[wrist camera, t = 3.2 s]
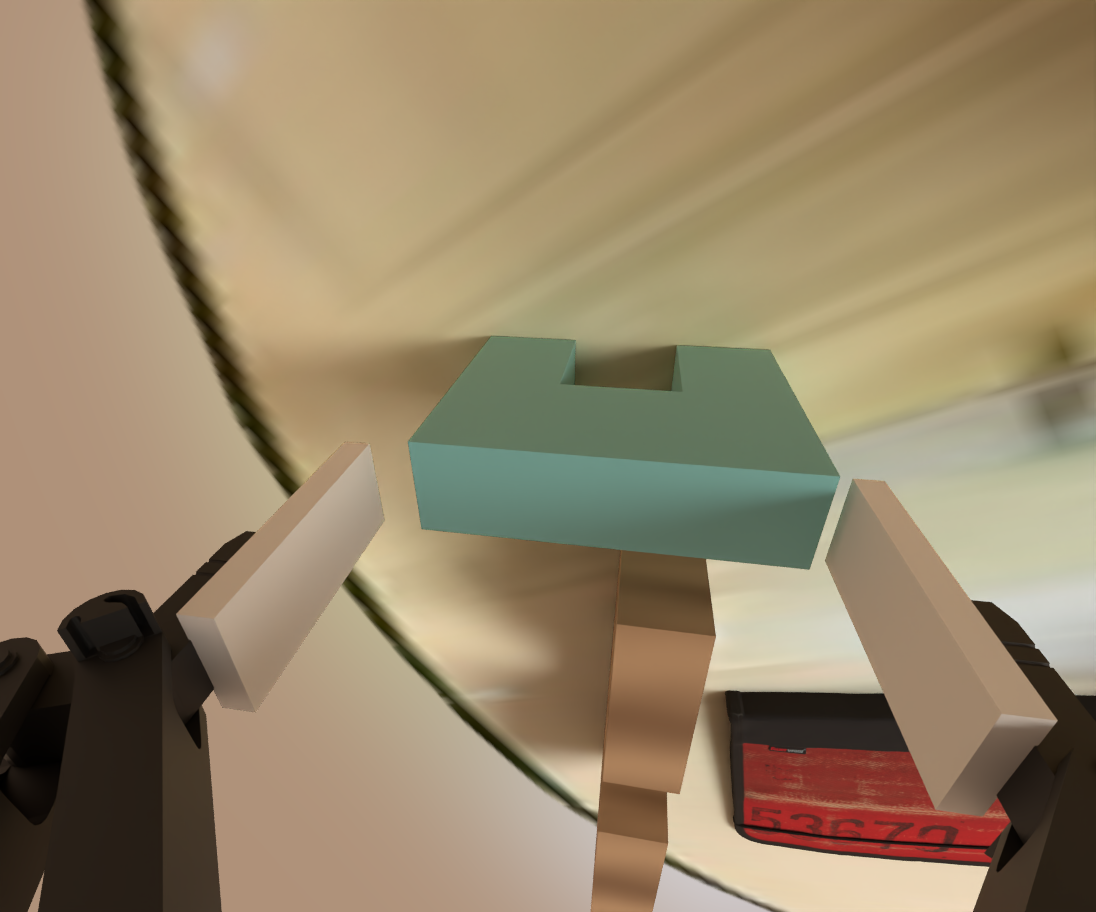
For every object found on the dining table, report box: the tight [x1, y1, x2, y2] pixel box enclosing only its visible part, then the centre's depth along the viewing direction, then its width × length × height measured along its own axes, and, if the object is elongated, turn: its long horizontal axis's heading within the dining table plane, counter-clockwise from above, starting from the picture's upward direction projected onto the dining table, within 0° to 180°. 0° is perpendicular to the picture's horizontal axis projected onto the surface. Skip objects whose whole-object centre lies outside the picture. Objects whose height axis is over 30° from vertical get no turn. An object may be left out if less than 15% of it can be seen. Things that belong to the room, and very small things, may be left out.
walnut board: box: [591, 550, 716, 912], centre depth 26 cm, size 22×3×9 cm, turn 0°
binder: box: [725, 691, 1096, 867], centre depth 32 cm, size 16×2×21 cm
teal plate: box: [408, 336, 840, 570], centre depth 18 cm, size 11×3×9 cm, turn 90°
